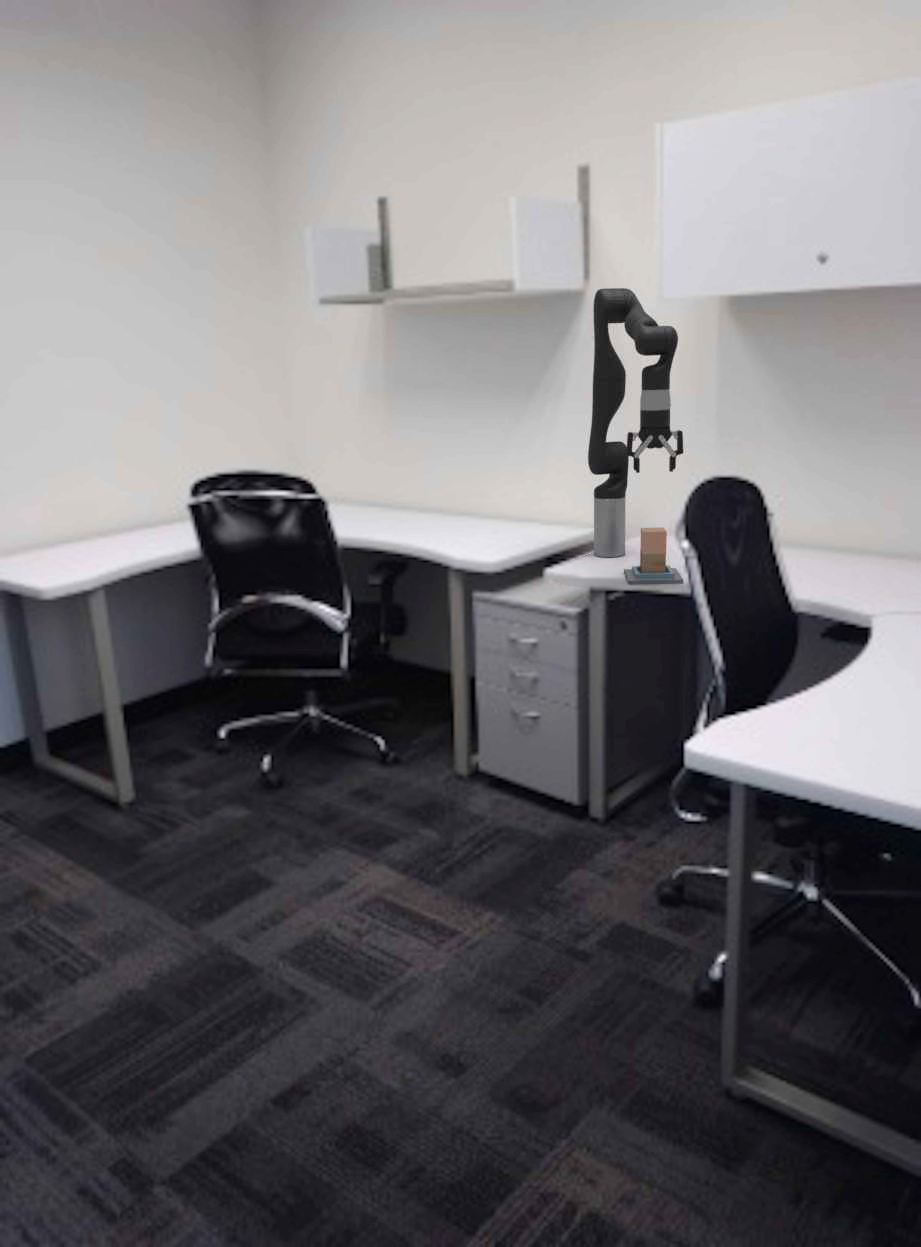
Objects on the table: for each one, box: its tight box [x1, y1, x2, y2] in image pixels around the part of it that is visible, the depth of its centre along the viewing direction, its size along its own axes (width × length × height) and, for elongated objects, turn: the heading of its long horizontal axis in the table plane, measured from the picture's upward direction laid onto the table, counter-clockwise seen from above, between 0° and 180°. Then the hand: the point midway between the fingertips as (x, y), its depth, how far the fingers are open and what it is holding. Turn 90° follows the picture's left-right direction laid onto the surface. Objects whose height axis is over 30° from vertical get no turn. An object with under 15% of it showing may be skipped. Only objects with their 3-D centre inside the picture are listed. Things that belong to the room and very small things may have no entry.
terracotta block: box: [640, 526, 668, 555], centre depth 256 cm, size 6×6×6 cm
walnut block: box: [639, 549, 667, 573], centre depth 258 cm, size 6×6×6 cm
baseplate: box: [623, 564, 684, 585], centre depth 259 cm, size 14×14×2 cm
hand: (654, 471), depth 251 cm, fingers open, 8 cm apart
